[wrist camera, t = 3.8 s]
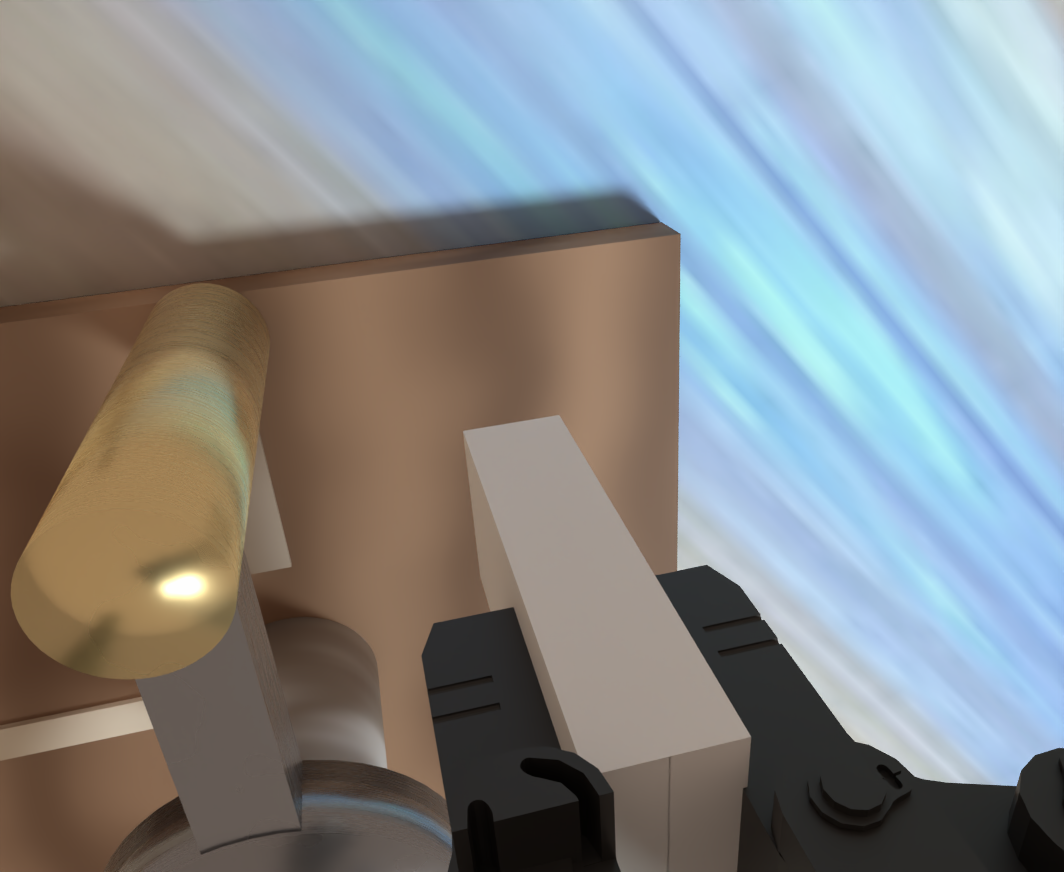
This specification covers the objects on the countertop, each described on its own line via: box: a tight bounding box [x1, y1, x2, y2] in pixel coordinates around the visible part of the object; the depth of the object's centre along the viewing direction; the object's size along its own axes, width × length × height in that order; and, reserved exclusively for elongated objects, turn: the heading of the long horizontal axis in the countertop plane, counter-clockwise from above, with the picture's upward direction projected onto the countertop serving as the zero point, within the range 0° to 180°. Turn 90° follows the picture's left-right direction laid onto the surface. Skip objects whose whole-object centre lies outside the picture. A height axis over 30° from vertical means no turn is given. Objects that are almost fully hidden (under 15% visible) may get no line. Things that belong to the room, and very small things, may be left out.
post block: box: [0, 222, 680, 872], centre depth 25 cm, size 26×26×9 cm
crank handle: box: [11, 283, 452, 872], centre depth 21 cm, size 10×18×11 cm, turn 4°
